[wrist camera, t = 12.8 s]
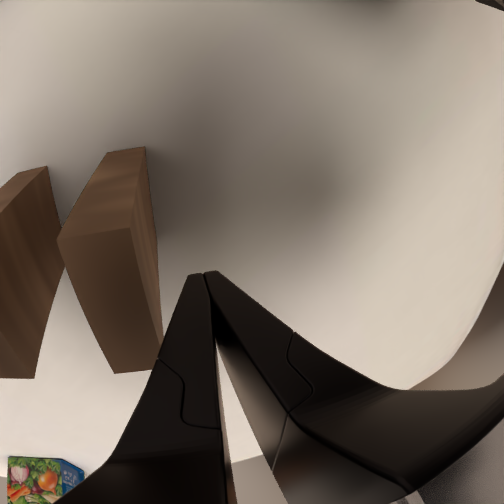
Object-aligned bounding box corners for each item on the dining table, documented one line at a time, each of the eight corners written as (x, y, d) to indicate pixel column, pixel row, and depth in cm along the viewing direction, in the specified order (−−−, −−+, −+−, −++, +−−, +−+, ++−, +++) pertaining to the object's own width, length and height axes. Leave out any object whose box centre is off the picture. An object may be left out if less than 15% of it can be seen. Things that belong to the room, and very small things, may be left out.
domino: (46, 165, 11) (-37, 259, 5) (69, 254, 14) (34, 378, 8) (17, 173, 11) (-71, 266, 4) (42, 258, 14) (-2, 378, 7)
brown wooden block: (144, 146, 12) (130, 227, 6) (156, 240, 15) (167, 367, 9) (107, 152, 12) (56, 239, 6) (124, 245, 15) (114, 373, 8)
